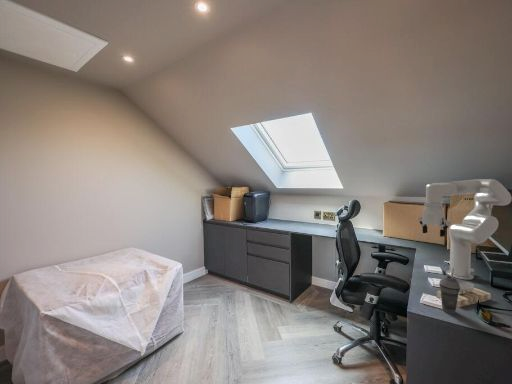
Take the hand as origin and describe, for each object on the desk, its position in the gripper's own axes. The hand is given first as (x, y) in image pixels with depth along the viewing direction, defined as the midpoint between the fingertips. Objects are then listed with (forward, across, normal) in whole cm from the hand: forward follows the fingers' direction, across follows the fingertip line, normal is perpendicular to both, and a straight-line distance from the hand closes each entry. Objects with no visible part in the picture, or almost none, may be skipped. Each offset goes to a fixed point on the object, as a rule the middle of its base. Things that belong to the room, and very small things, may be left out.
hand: (433, 234), depth 139 cm
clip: (+26, +21, -10) cm, 35 cm away
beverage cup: (+26, +26, -29) cm, 47 cm away
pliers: (+28, -9, +36) cm, 47 cm away
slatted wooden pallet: (+26, +21, -10) cm, 35 cm away
